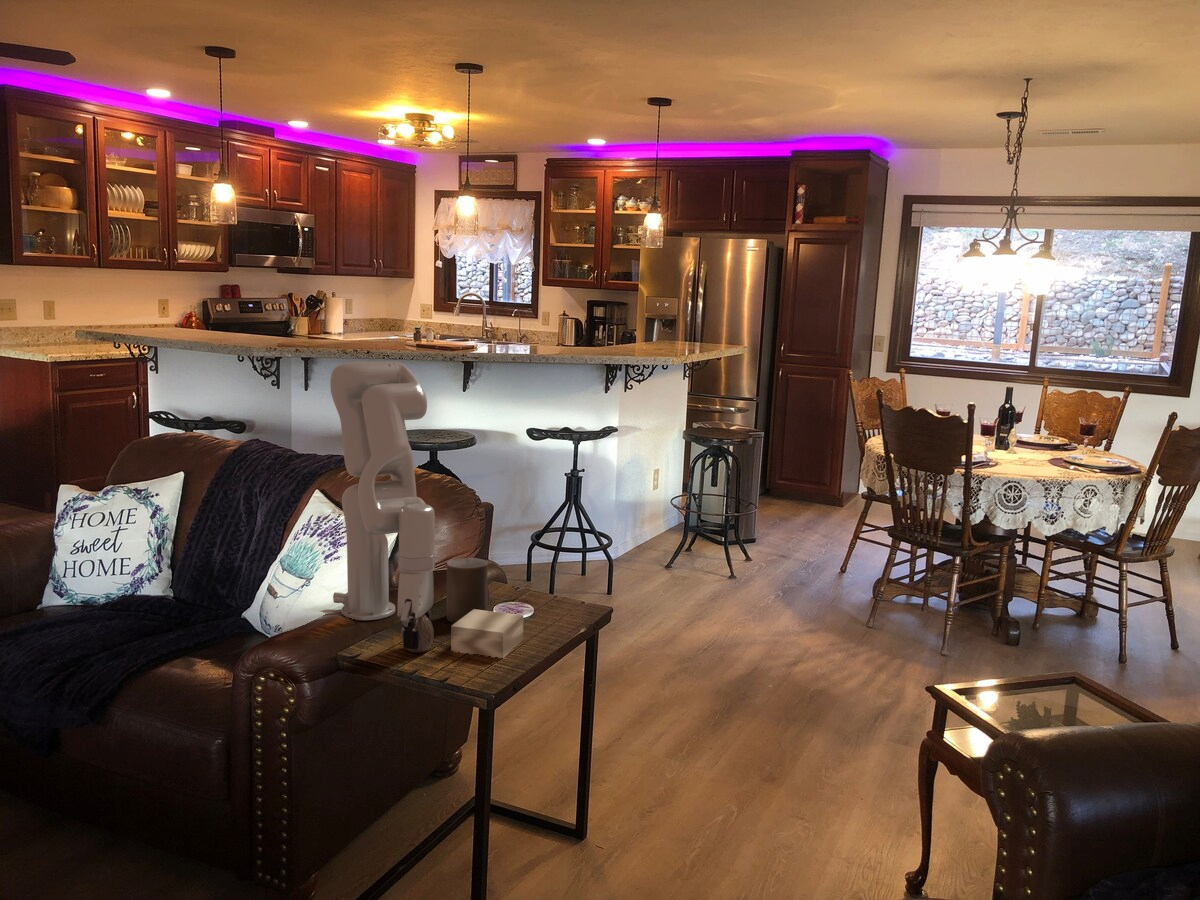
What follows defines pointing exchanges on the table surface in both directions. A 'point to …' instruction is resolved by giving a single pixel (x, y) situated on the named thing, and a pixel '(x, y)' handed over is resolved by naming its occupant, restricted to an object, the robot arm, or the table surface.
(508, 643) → the maple block
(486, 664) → the table surface
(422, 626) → the vase
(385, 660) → the table surface
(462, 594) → the pillar candle
